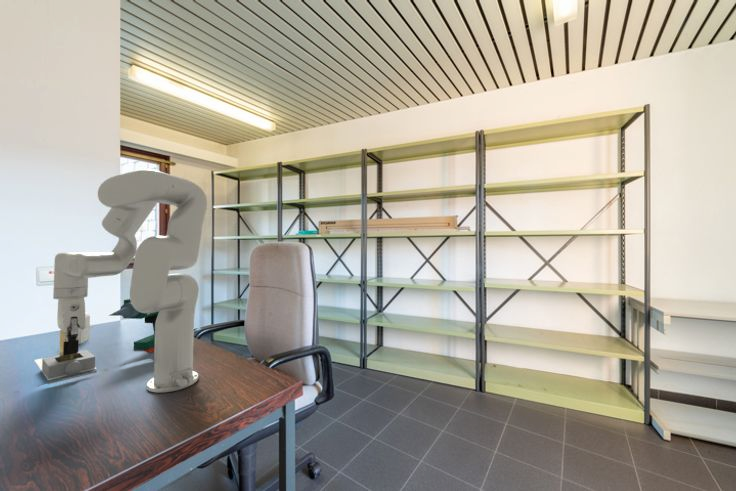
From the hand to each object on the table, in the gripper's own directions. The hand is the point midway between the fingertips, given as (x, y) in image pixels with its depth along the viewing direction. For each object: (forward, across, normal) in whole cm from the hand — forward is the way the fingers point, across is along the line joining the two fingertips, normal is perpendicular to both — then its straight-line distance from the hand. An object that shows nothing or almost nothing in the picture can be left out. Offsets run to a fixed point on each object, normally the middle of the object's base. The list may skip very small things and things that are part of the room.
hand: (68, 351), depth 92 cm
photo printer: (+7, +33, -9) cm, 35 cm away
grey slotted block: (+7, +6, 0) cm, 9 cm away
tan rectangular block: (+3, 0, 0) cm, 3 cm away
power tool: (+7, +5, -22) cm, 23 cm away
